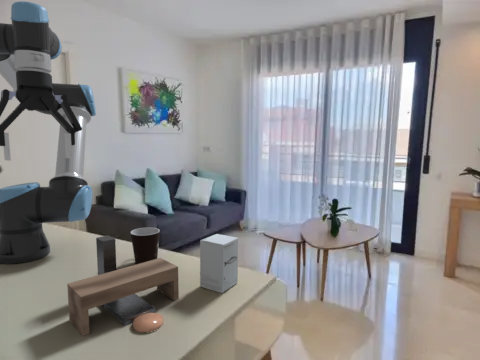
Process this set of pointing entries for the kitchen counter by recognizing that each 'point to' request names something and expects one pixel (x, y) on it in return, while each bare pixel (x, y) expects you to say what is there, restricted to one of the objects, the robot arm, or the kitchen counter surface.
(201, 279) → the supplement box
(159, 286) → the bench
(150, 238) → the coffee mug
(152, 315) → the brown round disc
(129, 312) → the dark gray angled bracket
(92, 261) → the kitchen counter surface
